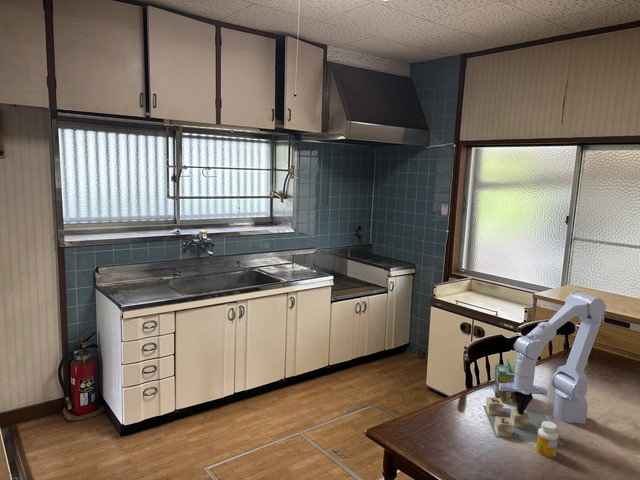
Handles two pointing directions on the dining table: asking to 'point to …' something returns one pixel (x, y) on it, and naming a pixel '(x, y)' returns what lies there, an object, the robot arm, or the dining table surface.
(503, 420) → the block seven
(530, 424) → the mat
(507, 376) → the chalk box
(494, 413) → the block four
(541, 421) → the tan cube
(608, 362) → the dining table surface
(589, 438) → the dining table surface
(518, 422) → the plain block
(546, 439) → the supplement bottle
